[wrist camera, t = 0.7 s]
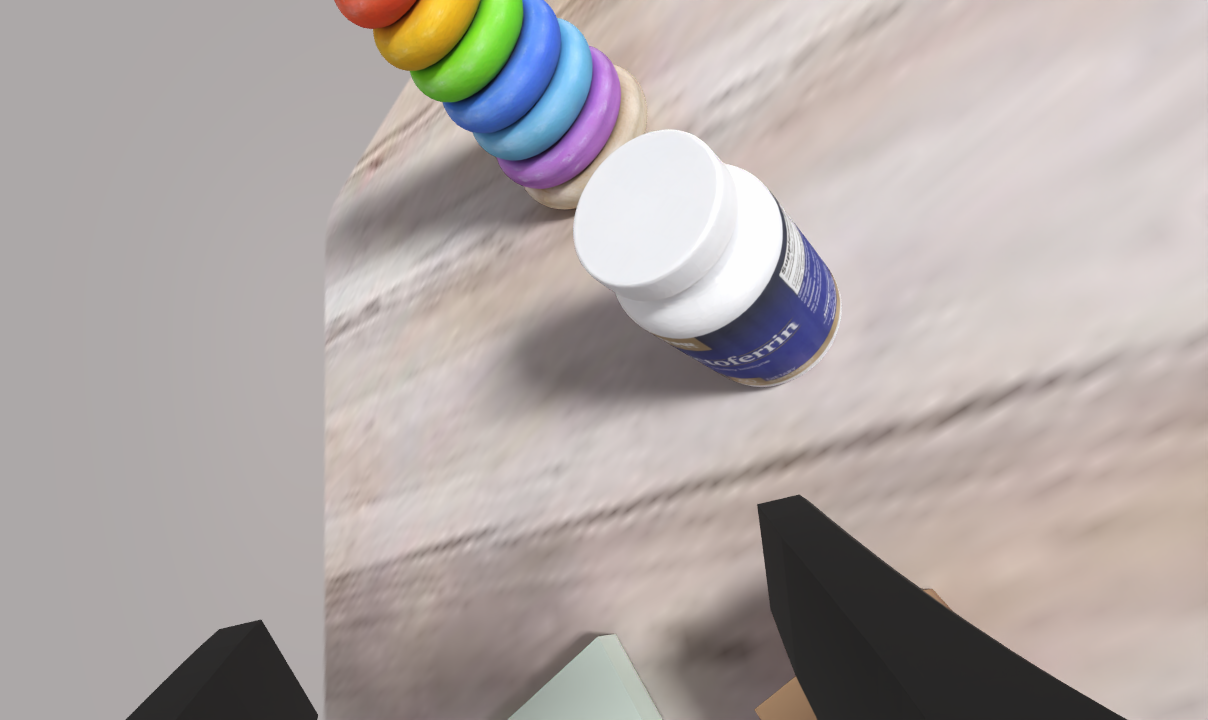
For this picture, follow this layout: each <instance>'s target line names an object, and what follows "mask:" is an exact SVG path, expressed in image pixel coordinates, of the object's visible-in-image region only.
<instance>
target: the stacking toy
mask: <svg viewBox="0 0 1208 720" xmlns="http://www.w3.org/2000/svg"><path fill="white" fill-rule="evenodd" d="M334 1H335V3H336V5H337V7H338V8H339V10H340V11H341V13H342V14H343V15H344V16H345V17H346V18H347V19H348V20H350V21H351V22H352V23H354V24H356V25H358V26H360V27H363V28H369V29H373V34H374V39H375V43H376V46H377V48H378V49H379V51H380V53H381V55H382V56H383V57H384V58H385V59H386V60H387V61H388V62H389V63H390V64H392V65H393V66H395V67H396V68H399V69H402V70H407V71H410V73H411V76H412V79H413V81H414V83H415V84H416V86H417V87H418V88H419V89H420V91H422V92H423V93H424V94H425V95H426V96H428V97H430V98H431V99H434V100H436V101H440V102H443V105H444V108H445V110H446V111H447V113H448V115H449V116H450V118H451V119H452V120H453V121H454V122H455V123H456V124H457V125H459V126H460V127H462V128H463V129H465V130H468V131H470V132H473V135H474V137H475V139H476V140H477V142H478V143H479V145H480V146H481V147H482V148H483V149H484V150H485V151H486V152H488V153H489V154H491V155H493V156H495V157H496V158H497V160H498V163H499V165H500V167H501V169H502V170H503V171H504V173H505V174H506V175H507V176H508V177H509V178H510V179H512V180H513V181H514V182H516V183H518V184H520V185H522V186H524V188H525V190H526V191H527V192H528V194H529V195H530V196H531V197H532V198H533V199H535V200H536V201H537V202H539V203H541V204H543V205H545V206H547V207H550V208H555V209H574V208H577V205H578V202H579V199H580V197H581V194H582V192H583V190H584V188H585V186H586V185H587V183H588V181H589V179H590V178H591V176H592V175H593V173H594V172H595V171H596V170H597V168H598V167H599V166H600V165H601V163H602V162H603V161H604V160H605V159H606V158H607V157H608V156H609V155H610V154H611V153H613V152H614V151H615V150H616V149H618V148H619V147H621V146H622V145H624V144H625V143H627V142H628V141H630V140H632V139H634V138H636V137H638V136H640V135H643V134H645V129H646V123H647V106H646V100H645V96H644V93H643V90H642V88H641V86H640V85H639V83H638V82H637V80H636V79H635V78H634V77H633V76H632V75H631V74H630V73H629V72H628V71H627V70H625V69H623V68H621V67H619V66H617V65H613V64H612V62H611V61H610V60H609V59H608V57H607V56H606V55H605V54H603V53H602V52H601V51H599V50H598V49H596V48H594V47H591V46H589V45H588V43H587V41H586V39H585V38H584V36H583V35H582V33H581V32H580V31H579V30H578V29H577V28H576V27H575V26H574V25H572V24H571V23H569V22H568V21H565V20H563V19H560V18H556V15H555V13H554V12H553V10H552V9H551V7H550V6H549V5H548V4H547V3H546V2H545V1H544V0H334Z"/></svg>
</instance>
